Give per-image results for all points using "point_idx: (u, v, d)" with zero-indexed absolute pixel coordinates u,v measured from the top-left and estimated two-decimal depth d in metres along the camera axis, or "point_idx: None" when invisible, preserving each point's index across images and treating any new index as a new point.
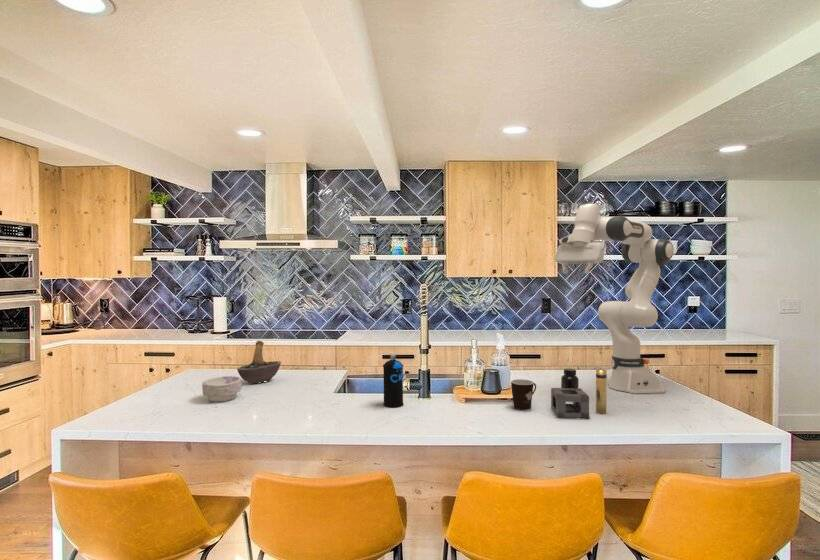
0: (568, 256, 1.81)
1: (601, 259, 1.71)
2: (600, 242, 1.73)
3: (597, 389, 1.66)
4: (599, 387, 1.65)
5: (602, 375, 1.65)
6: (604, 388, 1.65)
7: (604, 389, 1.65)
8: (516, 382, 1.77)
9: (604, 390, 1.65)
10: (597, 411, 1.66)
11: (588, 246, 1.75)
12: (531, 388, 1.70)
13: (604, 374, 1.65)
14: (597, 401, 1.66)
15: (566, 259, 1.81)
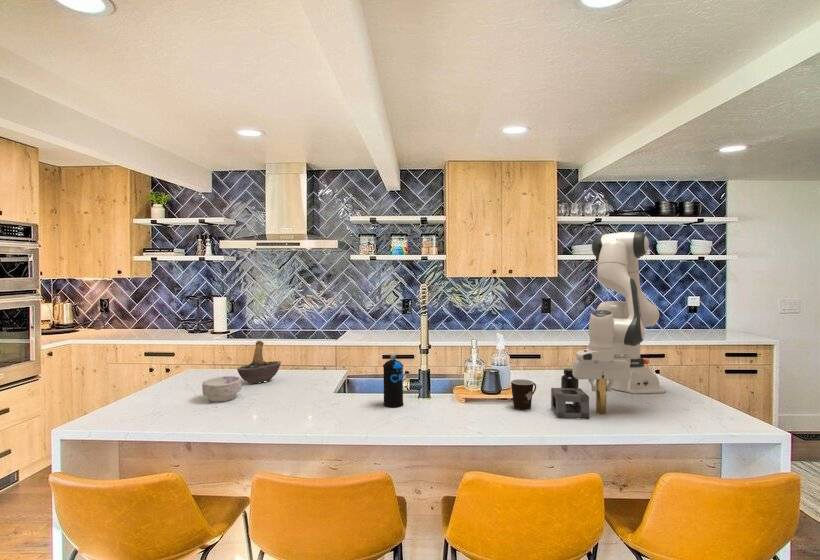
0: (593, 374, 1.65)
1: None
2: (625, 358, 1.65)
3: (597, 389, 1.66)
4: (599, 387, 1.65)
5: (602, 375, 1.65)
6: (604, 388, 1.65)
7: (604, 389, 1.65)
8: (516, 382, 1.77)
9: (604, 390, 1.65)
10: (597, 411, 1.66)
11: (616, 364, 1.64)
12: (531, 388, 1.70)
13: None
14: (597, 401, 1.66)
15: (590, 377, 1.65)
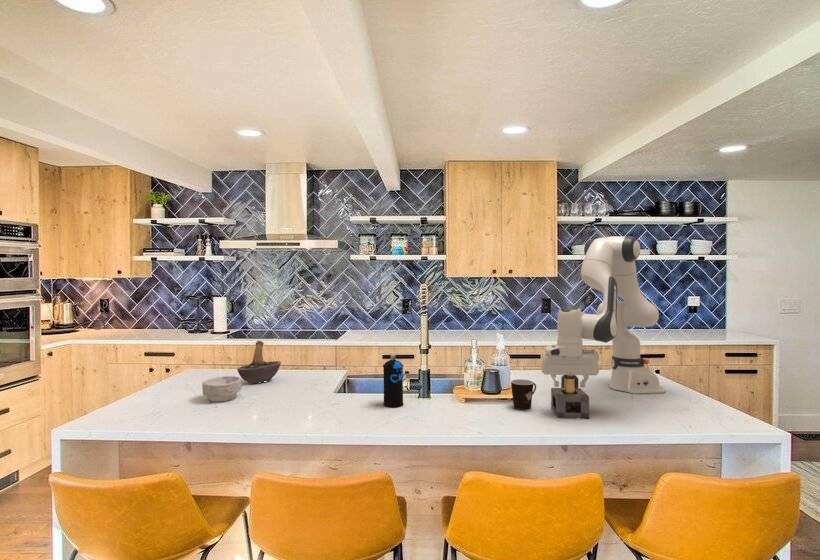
0: (561, 369, 1.64)
1: None
2: (594, 353, 1.64)
3: (565, 390, 1.65)
4: (567, 388, 1.65)
5: (570, 376, 1.64)
6: (572, 389, 1.64)
7: (572, 390, 1.64)
8: (516, 382, 1.77)
9: (572, 391, 1.64)
10: None
11: (584, 359, 1.63)
12: (531, 388, 1.70)
13: (572, 375, 1.64)
14: None
15: (558, 372, 1.64)
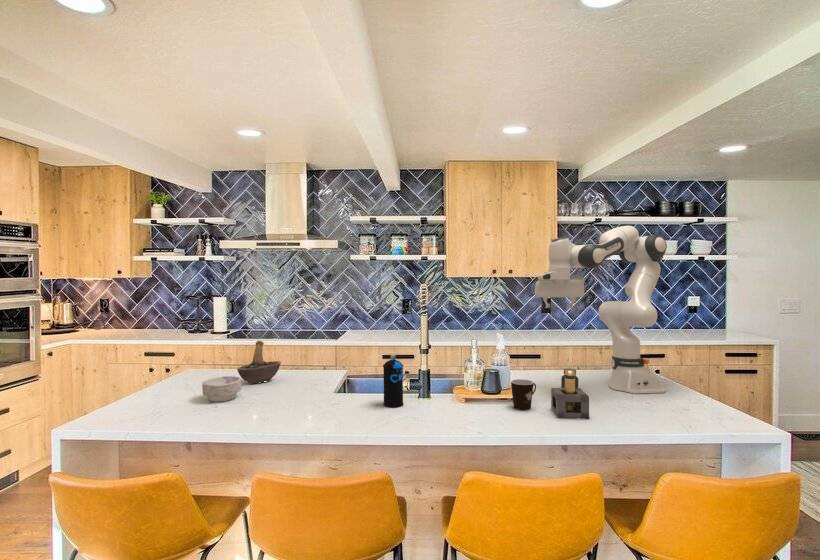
0: (551, 292, 1.89)
1: None
2: (580, 278, 1.89)
3: (565, 390, 1.65)
4: (567, 388, 1.65)
5: (571, 376, 1.64)
6: (572, 389, 1.64)
7: (572, 390, 1.64)
8: (516, 382, 1.77)
9: (572, 391, 1.64)
10: None
11: (571, 283, 1.88)
12: (531, 388, 1.70)
13: (572, 375, 1.64)
14: None
15: (549, 295, 1.89)
